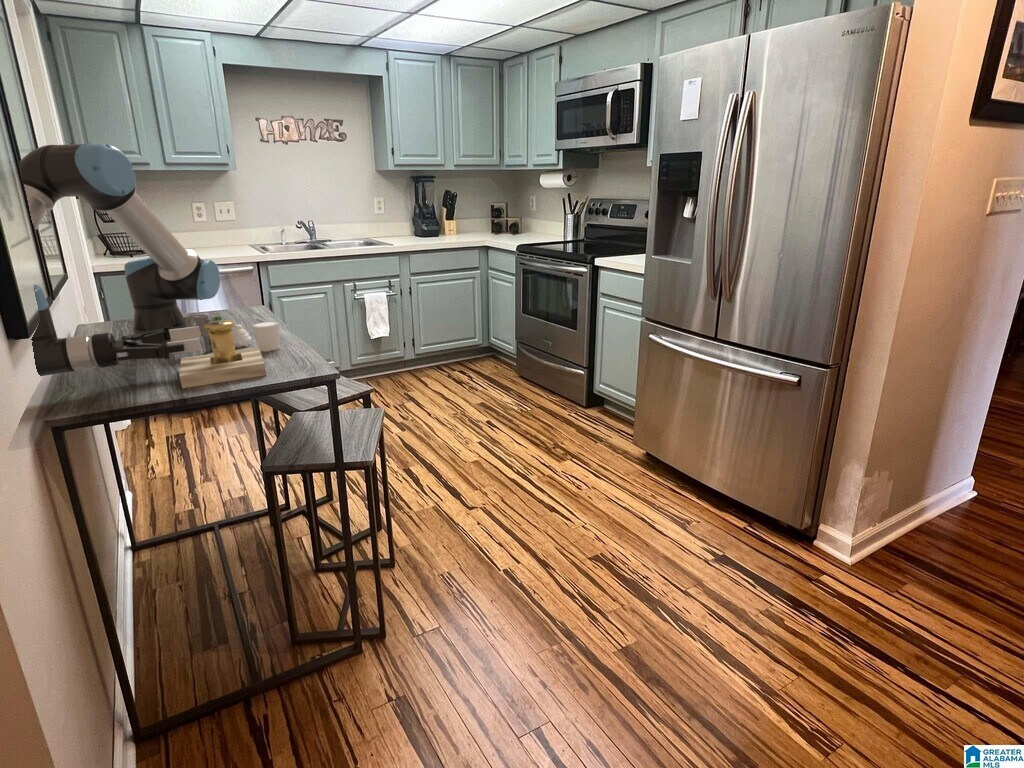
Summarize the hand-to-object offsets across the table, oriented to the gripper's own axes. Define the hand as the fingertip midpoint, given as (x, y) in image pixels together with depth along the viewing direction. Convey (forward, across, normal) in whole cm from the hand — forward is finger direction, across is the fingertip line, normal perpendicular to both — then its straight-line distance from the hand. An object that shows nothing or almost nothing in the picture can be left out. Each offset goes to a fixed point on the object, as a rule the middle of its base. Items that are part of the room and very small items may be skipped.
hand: (200, 337), depth 142 cm
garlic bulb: (+9, -25, -9) cm, 28 cm away
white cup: (+16, -16, -9) cm, 24 cm away
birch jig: (+4, +1, -9) cm, 10 cm away
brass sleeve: (+4, 0, -9) cm, 10 cm away
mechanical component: (+1, -22, -9) cm, 24 cm away
